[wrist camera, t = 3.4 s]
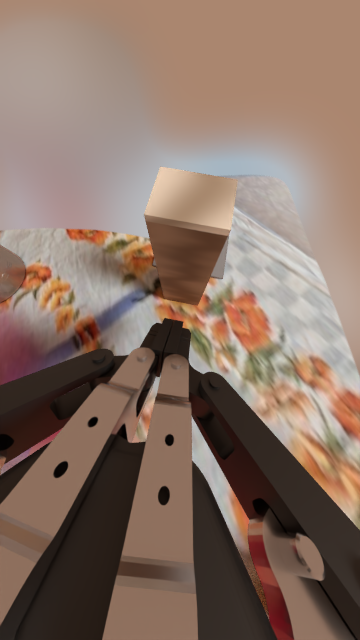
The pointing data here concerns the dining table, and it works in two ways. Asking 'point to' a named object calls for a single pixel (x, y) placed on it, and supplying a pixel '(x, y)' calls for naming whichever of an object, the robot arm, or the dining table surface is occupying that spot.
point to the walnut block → (188, 229)
